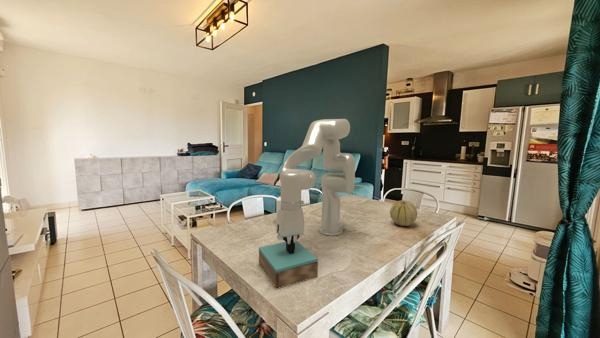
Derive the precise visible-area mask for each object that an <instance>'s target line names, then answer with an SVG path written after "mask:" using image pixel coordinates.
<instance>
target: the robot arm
mask: <svg viewBox="0 0 600 338" xmlns="http://www.w3.org/2000/svg"><path fill="white" fill-rule="evenodd" d="M350 132H351V124H350V121H349V120H348V119H346V118H329V119H328V118H327V119H326V118H324V119H318V120H314V121H313V122H311V123H310V125H309V127H308V130H307V132H306V135H305V138H304V140H303V143H302V145H301V147H298V148H297V149H296V150H295V151H293V153H291V154H290V155H289V156H288V157H287V158H286V160H285V162H284V164H283V166H282V168H281V172H280V173H279V174H280V175H279V182H280V197H281V208H279V209H278V214H277V221H276V222H275V225H276V226H275V231H276V234H277V235H276V239H277V240H278V241H283V242H286V251H287V252H288V253H289V254H292V253H294V250H295V243H296V241H297V242H298V239H299V238H300V237H303V236H305V216H304V210H303V208H302V205H304V204H305V201H304V200H302V190H310V189H311V188H313V187H314V186H315V185H316V181H317V177H316V174H315V173H314V172H313V171H312V170H309V169H301V168H297V167H298V166H299V165H301V164H302V163H304V162H308V161H310V160H313V159H316V158H318V157H319V156H320V155H321V153H323V154H322V155H323V169H324V170H326V171H329V172H331V173H324V174H323V175H322V177H321V178H320V186H321V195H322V196H321V198H322V199H321V201H322V202H321V226H320V227H319V228H318V233H321V235H324V236H331V237H332V236H335V237H336V236H339V235H341V234H342V233H343V227H347V226H348V224H347V222H341V197H340V196H339V194H338V193H342V194H351V193H353V192H354V190H355V186H356V185H355V183H356V182H355V178H356V160H355V157H354V156H353V155H352V154H351V153H342V152H341V142H340V140H342V139H343V138H347V136H349V134H350ZM322 151H323V152H322ZM332 172H334V173H332ZM335 172H336V173H335ZM337 172H338V173H337ZM342 173H343V174H342Z"/></svg>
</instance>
